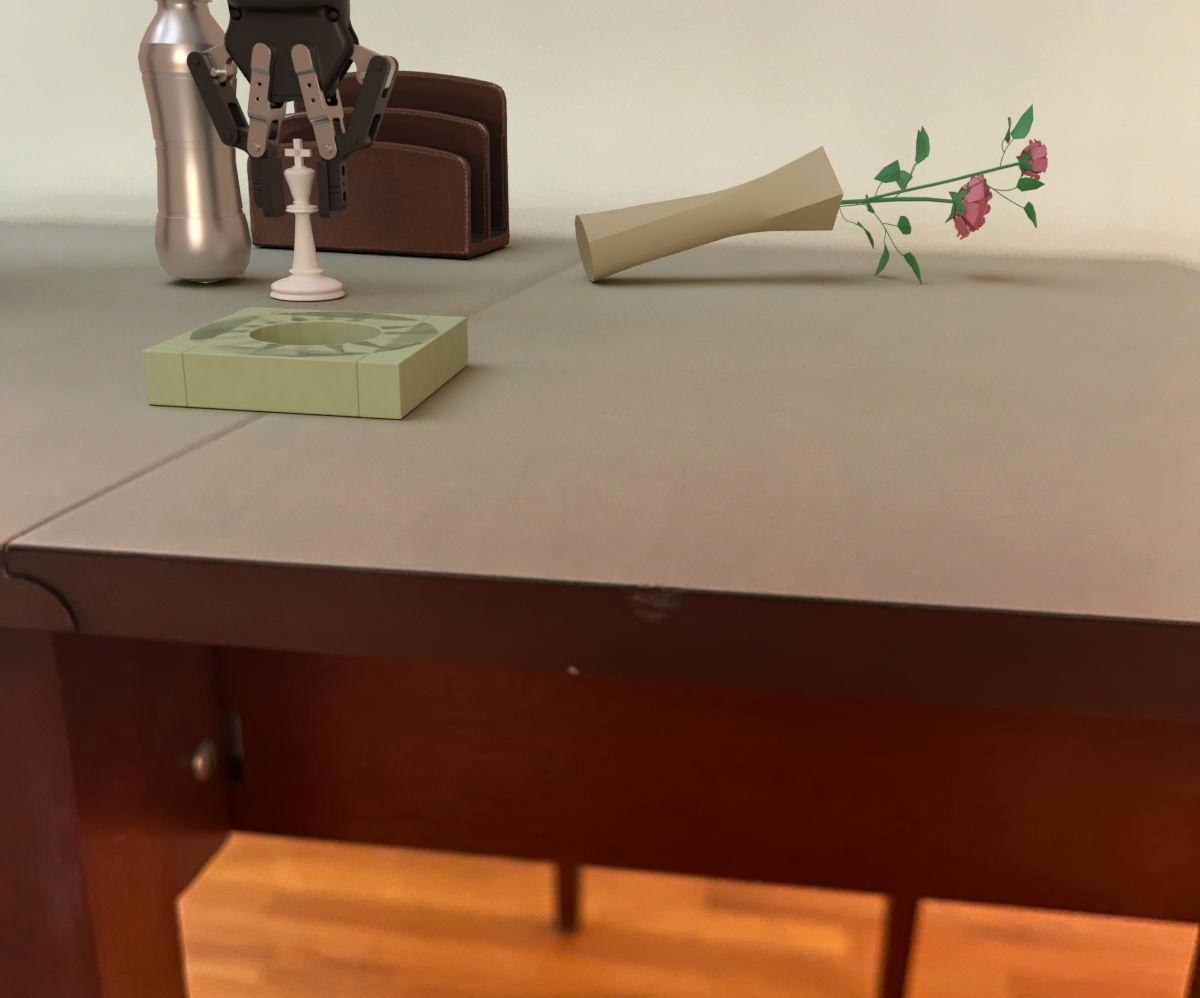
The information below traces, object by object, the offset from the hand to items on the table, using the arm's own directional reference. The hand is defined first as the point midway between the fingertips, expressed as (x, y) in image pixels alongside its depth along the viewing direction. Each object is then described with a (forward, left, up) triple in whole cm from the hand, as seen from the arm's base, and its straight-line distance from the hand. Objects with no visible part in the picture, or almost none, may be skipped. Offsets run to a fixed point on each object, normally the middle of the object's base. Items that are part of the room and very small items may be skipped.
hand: (302, 216), depth 87 cm
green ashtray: (+10, -25, -5) cm, 27 cm away
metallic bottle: (-9, +4, -5) cm, 11 cm away
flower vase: (+33, +17, -5) cm, 38 cm away
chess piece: (0, 0, -5) cm, 5 cm away
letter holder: (-3, +26, -5) cm, 27 cm away
